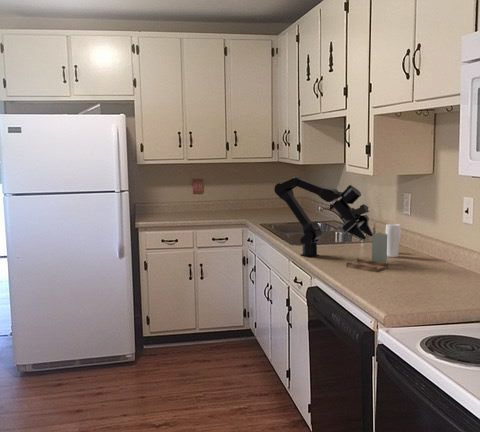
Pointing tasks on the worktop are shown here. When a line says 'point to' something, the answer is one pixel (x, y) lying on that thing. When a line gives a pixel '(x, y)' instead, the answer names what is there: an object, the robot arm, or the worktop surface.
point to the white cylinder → (393, 239)
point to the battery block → (379, 247)
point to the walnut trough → (367, 265)
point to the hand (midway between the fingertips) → (368, 237)
